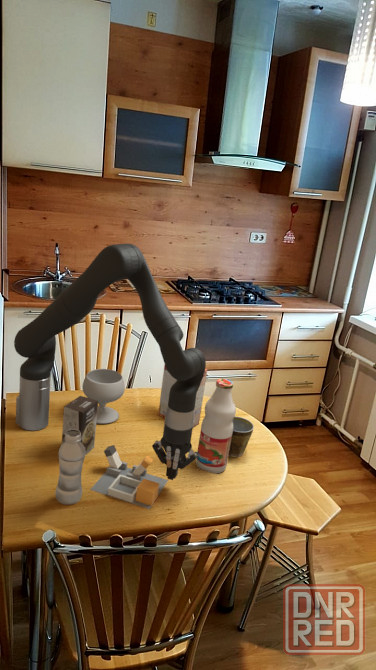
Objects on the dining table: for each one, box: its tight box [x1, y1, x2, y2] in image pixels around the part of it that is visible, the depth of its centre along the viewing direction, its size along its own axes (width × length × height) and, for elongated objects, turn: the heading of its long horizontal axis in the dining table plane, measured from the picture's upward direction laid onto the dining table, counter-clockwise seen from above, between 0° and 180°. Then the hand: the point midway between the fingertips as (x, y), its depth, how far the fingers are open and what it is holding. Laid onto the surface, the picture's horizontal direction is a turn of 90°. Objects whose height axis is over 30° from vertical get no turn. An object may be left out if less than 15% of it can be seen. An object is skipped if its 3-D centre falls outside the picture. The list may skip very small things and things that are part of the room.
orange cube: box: [136, 479, 159, 507], centre depth 136 cm, size 4×4×4 cm
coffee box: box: [61, 395, 99, 456], centre depth 152 cm, size 9×6×16 cm
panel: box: [90, 460, 169, 510], centre depth 141 cm, size 17×14×3 cm
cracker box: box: [157, 364, 208, 428], centre depth 178 cm, size 14×6×21 cm, turn 58°
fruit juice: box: [195, 378, 237, 474], centre depth 153 cm, size 9×9×28 cm
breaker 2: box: [132, 455, 154, 476], centre depth 143 cm, size 2×3×6 cm
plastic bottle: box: [55, 429, 86, 506], centre depth 130 cm, size 6×7×20 cm
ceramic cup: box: [228, 416, 255, 458], centre depth 166 cm, size 13×10×10 cm
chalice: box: [81, 368, 126, 425], centre depth 174 cm, size 14×14×15 cm
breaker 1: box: [103, 444, 122, 469], centre depth 145 cm, size 2×3×6 cm
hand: (171, 477), depth 141 cm, fingers closed
